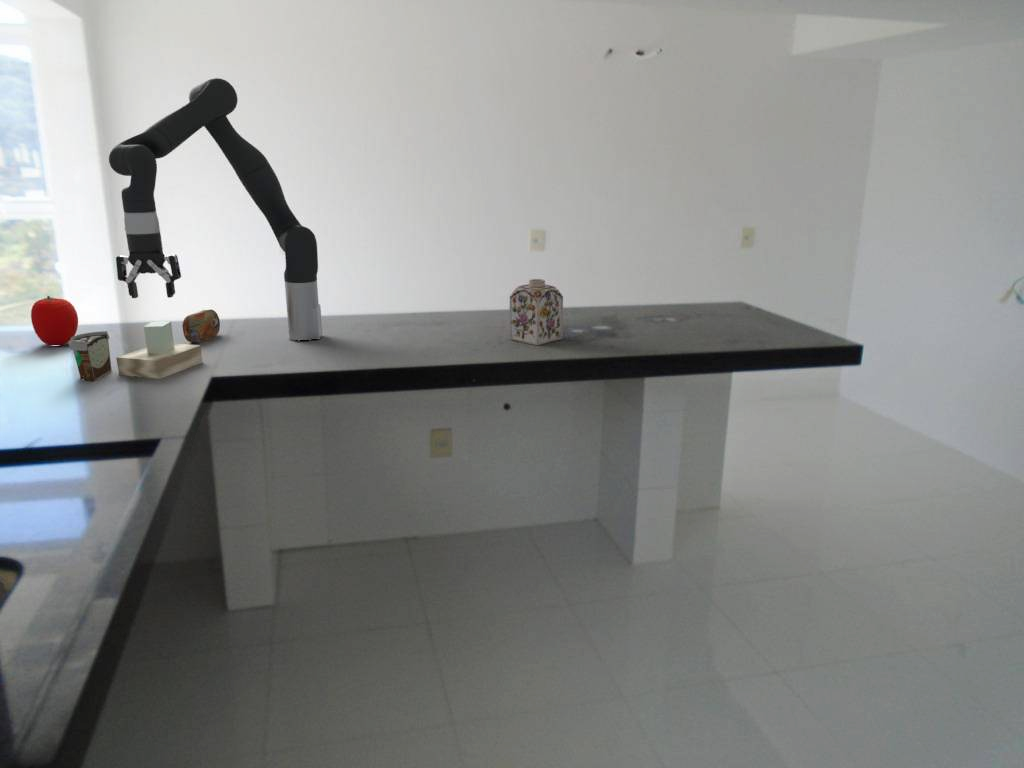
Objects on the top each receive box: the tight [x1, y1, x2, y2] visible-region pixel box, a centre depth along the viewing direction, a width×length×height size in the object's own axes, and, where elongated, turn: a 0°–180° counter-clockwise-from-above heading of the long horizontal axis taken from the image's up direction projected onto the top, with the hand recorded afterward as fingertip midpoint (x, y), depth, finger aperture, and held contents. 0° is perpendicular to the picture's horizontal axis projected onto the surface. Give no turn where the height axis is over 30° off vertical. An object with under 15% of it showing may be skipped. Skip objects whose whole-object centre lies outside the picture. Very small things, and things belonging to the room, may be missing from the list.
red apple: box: [30, 295, 79, 346], centre depth 211 cm, size 13×11×14 cm
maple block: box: [115, 342, 203, 380], centre depth 188 cm, size 12×16×5 cm
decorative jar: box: [508, 278, 564, 346], centre depth 218 cm, size 12×12×18 cm
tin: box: [182, 309, 221, 344], centre depth 218 cm, size 15×3×8 cm, turn 168°
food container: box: [68, 330, 113, 382], centre depth 180 cm, size 12×6×10 cm, turn 5°
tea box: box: [143, 320, 175, 354], centre depth 187 cm, size 4×6×7 cm
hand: (152, 297), depth 183 cm, fingers open, 8 cm apart
